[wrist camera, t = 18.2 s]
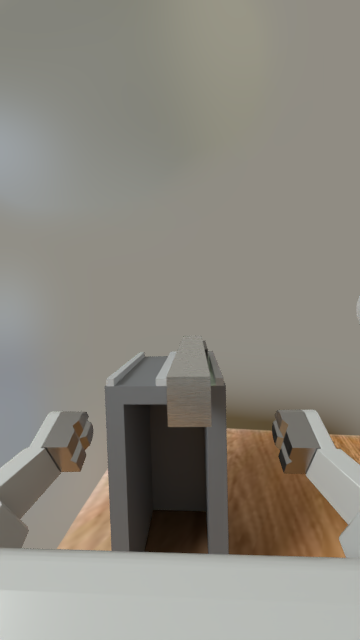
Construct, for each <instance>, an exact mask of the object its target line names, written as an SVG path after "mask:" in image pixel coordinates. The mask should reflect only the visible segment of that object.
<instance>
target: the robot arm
mask: <svg viewBox="0 0 360 640" xmlns="http://www.w3.org/2000/svg"><path fill="white" fill-rule="evenodd" d="M356 314H357V318H358V321H359V324H360V296H359V298H358V301H357V306H356ZM88 417H89V416H88V414H87V412H64V411H63V412H62V411H60V412H59V411H58V412H57V411H54V412H50V413H49V414H48V415H47V417H46V419H45V420H44V422H43V424H42V426H41V427H40V429H39V431H38V433H37V435H36V436H35V438H34V440H33V442H32V443H31V445H30V447H29V448H25V449H24V450H22V451H21V452H20V453H19V454H17V455H16V456H15V457H14V458H12V459H11V460H10V461H9V462H7V463H6V464H5V465H4V466H2V467H1V468H0V640H360V465H359V464H358V463H357V462H356V461H354V460H353V459H352V458H351V457H349V456H348V455H347V454H346V453H345V452H343V451H342V450H341V449H336V447H335V445H334V443H333V441H332V439H331V438H330V436H329V434H328V432H327V430H326V428H325V426H324V424H323V422H322V420H321V418H320V416H319V414H318V413H317V411H315V410H277V411H276V413H275V418H276V420H275V421H274V422H273V426H272V434H273V439H274V443H275V446H276V447H277V448H278V449H279V450H280V453H279V459H280V463H281V466H282V469H283V472H284V473H286V474H306V476H307V477H308V479H309V480H310V481H311V482H312V483H313V484H314V485H315V487H316V488H317V489H318V490H319V491H320V492H321V494H322V495H323V496H324V497H325V498H326V499H327V501H328V502H329V503H330V504H331V505H332V506H333V507H334V509H335V510H336V511H337V512H338V513H339V514H340V516H341V517H342V518H343V519H344V520H345V521H346V523H347V524H348V526H347V527H346V528H345V530H344V531H343V532H342V533H341V535H340V537H339V540H340V543H341V546H342V548H343V551H344V553H345V556H346V558H332V557H298V556H264V555H231V554H197V553H163V552H130V551H96V550H63V549H28V548H26V549H25V548H22V545H23V543H24V541H25V538H26V536H27V534H28V531H29V530H28V527H27V526H26V525H25V524H24V523H23V522H22V521H21V520H20V519H21V518H22V516H23V515H24V514H25V513H26V512H27V511H28V510H29V509H30V507H31V506H32V505H33V504H34V503H35V502H36V501H37V500H38V498H39V497H40V496H41V495H42V494H43V493H44V492H45V491H46V489H47V488H48V487H49V486H50V485H51V484H52V483H53V481H54V480H55V479H56V478H57V477H58V476H59V475H60V474H61V472H80V471H81V469H82V466H83V463H84V461H85V458H86V453H85V449H86V448H87V447H88V446H90V444H91V441H92V437H93V426H92V423H91V422H89V421H88Z"/></svg>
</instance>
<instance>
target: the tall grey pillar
mask: <svg viewBox="0 0 360 640" xmlns="http://www.w3.org/2000/svg"><path fill="white" fill-rule="evenodd" d="M176 353H177V352H170V354H169V356H164V357H145V355H144V352H140V353H138V354H137V355H136V356H135V357H133V358H132V359H131V360H130V361H128V362H127V363H126V364H125V365H123V366H122V367H121V368H120V369H118V370H117V371H116V372H115V373H113V374H112V375H111V376H110V377H108V378H107V379H106V386H105V404H106V428H107V452H108V475H109V499H110V523H111V546H112V551H130V552H144V551H145V546H146V541H147V537H148V532H149V527H150V522H151V518H152V513H153V510H173V511H206V520H207V540H208V554H229V551H228V495H227V440H226V386H225V383H224V381H223V376H222V373H221V371H220V368H219V366H218V363H217V361H216V358H215V356H214V353H213V351H208V368H209V372H210V378H211V426H212V427H168V416H167V382H166V376H167V374H168V372H169V369H170V367H171V365H172V362H173V360H174V357H175V355H176Z"/></svg>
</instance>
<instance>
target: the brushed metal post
mask: <svg viewBox="0 0 360 640" xmlns="http://www.w3.org/2000/svg"><path fill="white" fill-rule="evenodd" d="M166 382H167V416H168V427H212V426H211V378H210V372H209V368H208V349H207V346H206V342H205V341H202V336H183V338H182V341H181V343H180V345H179V348H178V350H177V353H176V355H175V357H174V360H173V362H172V365H171V367H170V369H169V372H168V374H167V376H166Z"/></svg>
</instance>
